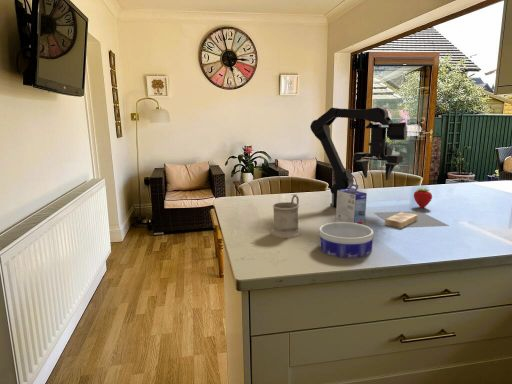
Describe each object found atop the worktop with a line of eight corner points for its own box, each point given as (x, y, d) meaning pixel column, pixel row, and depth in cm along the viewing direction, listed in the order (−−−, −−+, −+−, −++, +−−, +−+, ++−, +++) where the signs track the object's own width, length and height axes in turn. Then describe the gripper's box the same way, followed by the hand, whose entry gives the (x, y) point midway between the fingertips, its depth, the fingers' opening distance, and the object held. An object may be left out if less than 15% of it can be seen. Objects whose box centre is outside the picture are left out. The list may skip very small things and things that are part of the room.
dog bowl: (381, 257, 99) (382, 236, 97) (326, 260, 98) (327, 239, 96) (360, 239, 114) (361, 220, 112) (313, 241, 112) (313, 222, 111)
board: (401, 217, 135) (384, 224, 126) (401, 212, 134) (385, 219, 125) (417, 220, 130) (401, 228, 122) (417, 214, 130) (402, 222, 121)
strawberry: (424, 211, 144) (426, 187, 142) (409, 207, 150) (410, 184, 148) (434, 209, 146) (436, 185, 144) (418, 205, 153) (420, 182, 151)
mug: (292, 239, 114) (292, 203, 111) (265, 235, 119) (265, 199, 116) (310, 227, 126) (311, 194, 123) (285, 223, 131) (285, 191, 128)
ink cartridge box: (366, 226, 125) (367, 186, 123) (354, 229, 123) (355, 188, 120) (346, 220, 134) (348, 182, 131) (335, 222, 132) (336, 183, 129)
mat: (395, 228, 122) (395, 227, 122) (373, 213, 142) (373, 212, 142) (449, 226, 124) (449, 225, 123) (419, 211, 143) (419, 210, 143)
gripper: (410, 139, 140) (407, 178, 143) (367, 138, 153) (365, 174, 156) (397, 141, 132) (394, 182, 136) (353, 139, 146) (351, 177, 149)
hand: (376, 179), depth 144 cm, fingers open, 9 cm apart
